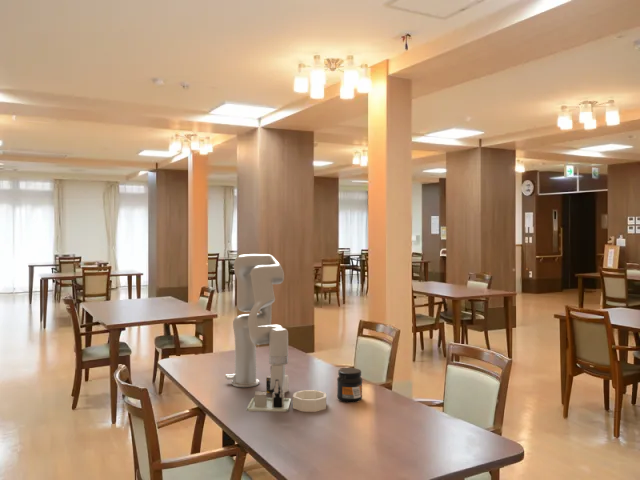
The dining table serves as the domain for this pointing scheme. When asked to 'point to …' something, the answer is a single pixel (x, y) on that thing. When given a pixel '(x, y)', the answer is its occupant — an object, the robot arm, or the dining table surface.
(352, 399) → the supplement container
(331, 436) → the dining table surface
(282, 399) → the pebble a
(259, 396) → the beige small block
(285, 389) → the medicine bottle
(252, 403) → the tray
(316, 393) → the bowl
